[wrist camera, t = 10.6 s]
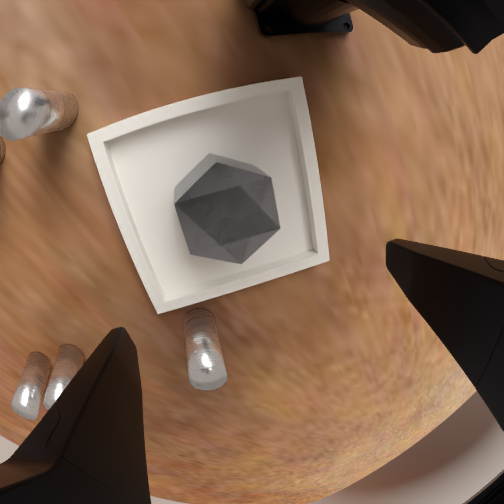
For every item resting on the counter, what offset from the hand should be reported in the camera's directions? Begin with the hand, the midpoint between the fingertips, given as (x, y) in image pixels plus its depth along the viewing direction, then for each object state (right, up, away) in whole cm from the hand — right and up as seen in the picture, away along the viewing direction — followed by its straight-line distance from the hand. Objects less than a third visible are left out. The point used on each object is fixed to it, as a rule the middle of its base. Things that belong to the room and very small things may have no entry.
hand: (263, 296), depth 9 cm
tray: (-2, +5, +10) cm, 11 cm away
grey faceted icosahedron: (-2, +5, +9) cm, 11 cm away
